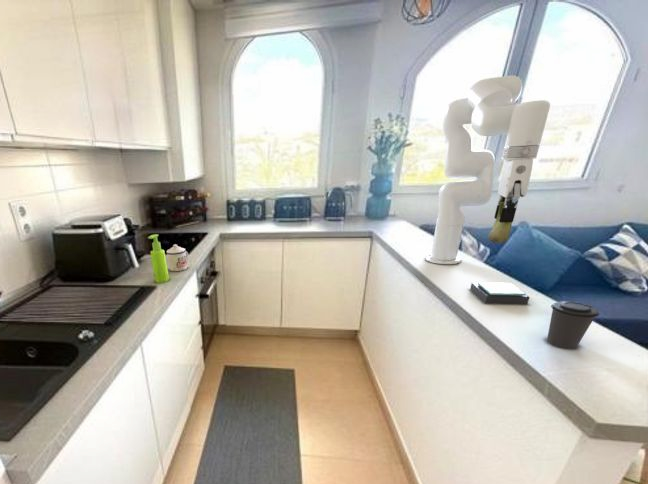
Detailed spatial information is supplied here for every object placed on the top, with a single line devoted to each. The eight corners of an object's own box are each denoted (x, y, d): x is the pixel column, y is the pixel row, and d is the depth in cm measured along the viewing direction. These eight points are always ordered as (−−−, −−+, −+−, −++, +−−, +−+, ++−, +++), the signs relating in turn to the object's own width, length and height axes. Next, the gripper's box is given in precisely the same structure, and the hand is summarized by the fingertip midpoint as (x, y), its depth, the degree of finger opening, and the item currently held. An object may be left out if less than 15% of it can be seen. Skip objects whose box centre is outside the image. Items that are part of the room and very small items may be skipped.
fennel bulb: (508, 245, 101) (519, 202, 97) (488, 244, 104) (498, 203, 99) (505, 240, 106) (516, 200, 101) (486, 240, 108) (495, 200, 103)
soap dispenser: (151, 283, 148) (143, 236, 140) (160, 277, 154) (152, 233, 145) (163, 283, 146) (155, 236, 138) (171, 278, 152) (164, 233, 143)
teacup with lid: (178, 272, 159) (175, 247, 154) (165, 270, 164) (161, 246, 159) (195, 265, 167) (192, 241, 163) (182, 263, 173) (179, 240, 168)
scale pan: (477, 284, 112) (478, 282, 112) (509, 284, 110) (510, 282, 110) (490, 295, 104) (490, 293, 104) (525, 295, 102) (525, 293, 102)
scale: (470, 289, 116) (471, 281, 114) (508, 290, 113) (510, 282, 112) (484, 303, 105) (487, 294, 104) (527, 304, 102) (530, 295, 101)
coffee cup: (594, 347, 80) (611, 308, 76) (569, 354, 78) (584, 315, 74) (555, 332, 87) (568, 296, 83) (531, 339, 85) (543, 302, 81)
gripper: (548, 152, 86) (527, 225, 93) (527, 152, 100) (511, 215, 108) (511, 155, 89) (494, 225, 97) (496, 154, 103) (482, 215, 111)
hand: (503, 219), depth 102 cm, fingers closed on fennel bulb, 5 cm apart
